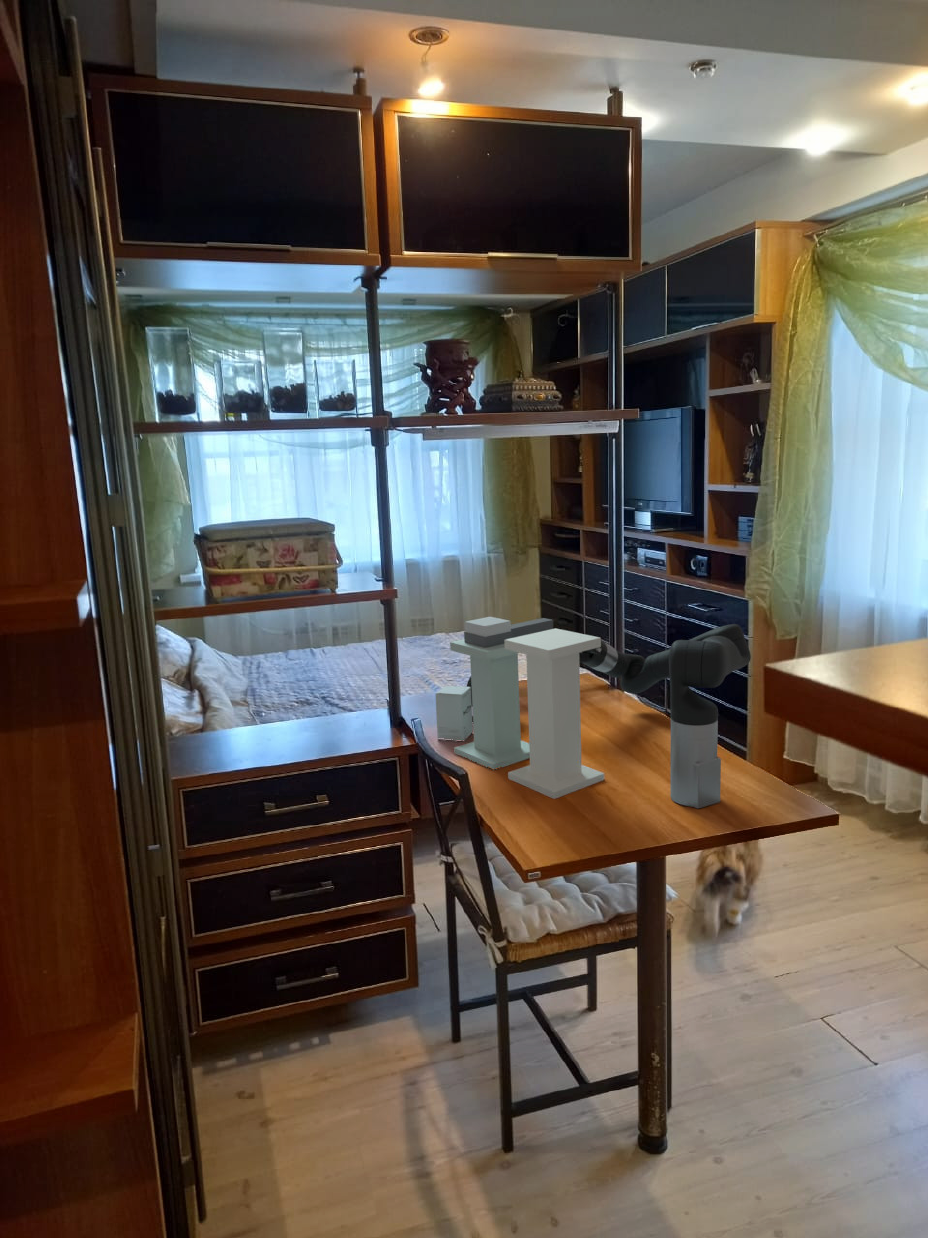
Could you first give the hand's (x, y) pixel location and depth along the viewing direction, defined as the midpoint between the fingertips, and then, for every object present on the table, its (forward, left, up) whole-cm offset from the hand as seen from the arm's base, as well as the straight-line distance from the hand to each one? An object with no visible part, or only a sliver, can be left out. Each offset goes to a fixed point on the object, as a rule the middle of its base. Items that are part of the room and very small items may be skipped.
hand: (556, 633), depth 211 cm
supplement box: (+13, +23, -27) cm, 38 cm away
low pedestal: (-4, +20, -26) cm, 33 cm away
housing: (-3, +14, +2) cm, 14 cm away
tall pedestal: (-25, +17, -26) cm, 40 cm away
